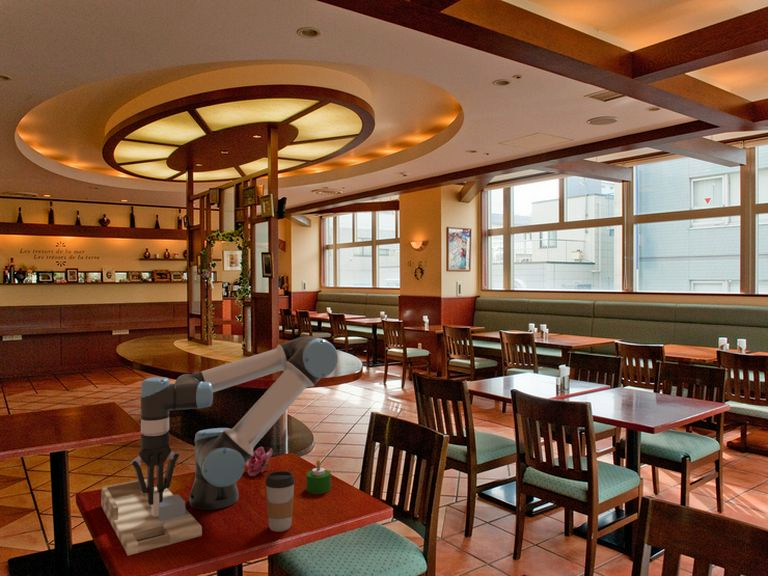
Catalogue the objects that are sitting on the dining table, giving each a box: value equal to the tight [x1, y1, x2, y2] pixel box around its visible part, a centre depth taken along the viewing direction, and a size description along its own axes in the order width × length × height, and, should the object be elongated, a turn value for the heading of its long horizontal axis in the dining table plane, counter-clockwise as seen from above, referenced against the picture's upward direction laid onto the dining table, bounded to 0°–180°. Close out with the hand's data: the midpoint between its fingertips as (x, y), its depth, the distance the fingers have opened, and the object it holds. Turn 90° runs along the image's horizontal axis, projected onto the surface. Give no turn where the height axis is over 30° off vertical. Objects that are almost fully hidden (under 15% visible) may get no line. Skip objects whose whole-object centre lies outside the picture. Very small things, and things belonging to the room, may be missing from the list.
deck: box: [100, 477, 203, 556], centre depth 162 cm, size 39×19×6 cm, turn 36°
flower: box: [245, 446, 274, 477], centre depth 204 cm, size 11×10×10 cm
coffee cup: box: [265, 470, 296, 533], centre depth 158 cm, size 8×8×15 cm
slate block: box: [156, 493, 186, 521], centre depth 161 cm, size 7×7×4 cm
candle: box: [305, 459, 332, 495], centre depth 187 cm, size 8×8×10 cm
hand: (155, 514), depth 157 cm, fingers closed
